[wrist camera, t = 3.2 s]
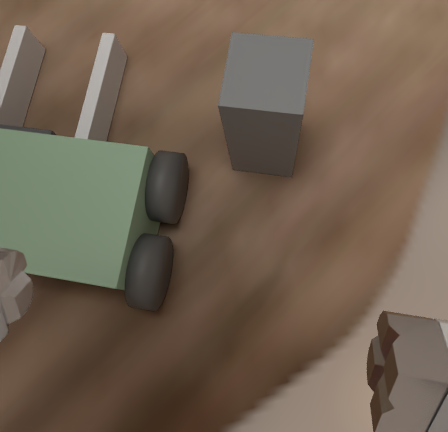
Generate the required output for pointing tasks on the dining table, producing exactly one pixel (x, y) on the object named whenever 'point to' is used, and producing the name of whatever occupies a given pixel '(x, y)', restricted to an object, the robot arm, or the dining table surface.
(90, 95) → the mower deck
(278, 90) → the grey upright pillar
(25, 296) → the robot arm
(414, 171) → the dining table surface
